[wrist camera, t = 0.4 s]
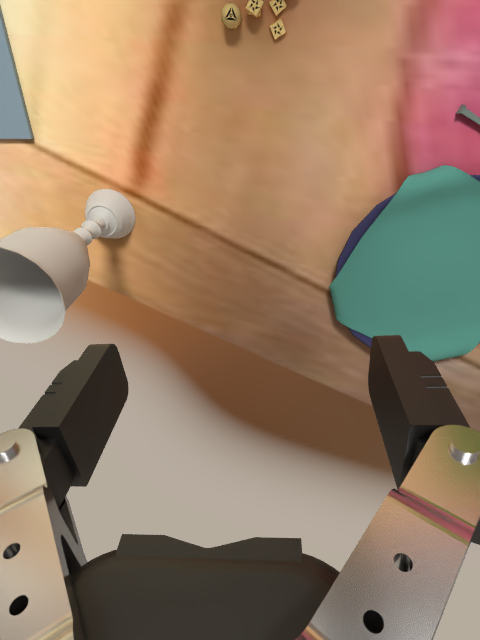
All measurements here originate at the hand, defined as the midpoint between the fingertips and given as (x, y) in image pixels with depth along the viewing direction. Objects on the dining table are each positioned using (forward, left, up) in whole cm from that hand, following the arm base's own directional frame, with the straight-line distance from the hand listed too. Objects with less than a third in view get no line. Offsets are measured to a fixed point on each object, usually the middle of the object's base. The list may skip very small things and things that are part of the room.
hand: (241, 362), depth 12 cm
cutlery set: (+5, +20, -29) cm, 36 cm away
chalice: (+4, -15, -29) cm, 33 cm away
